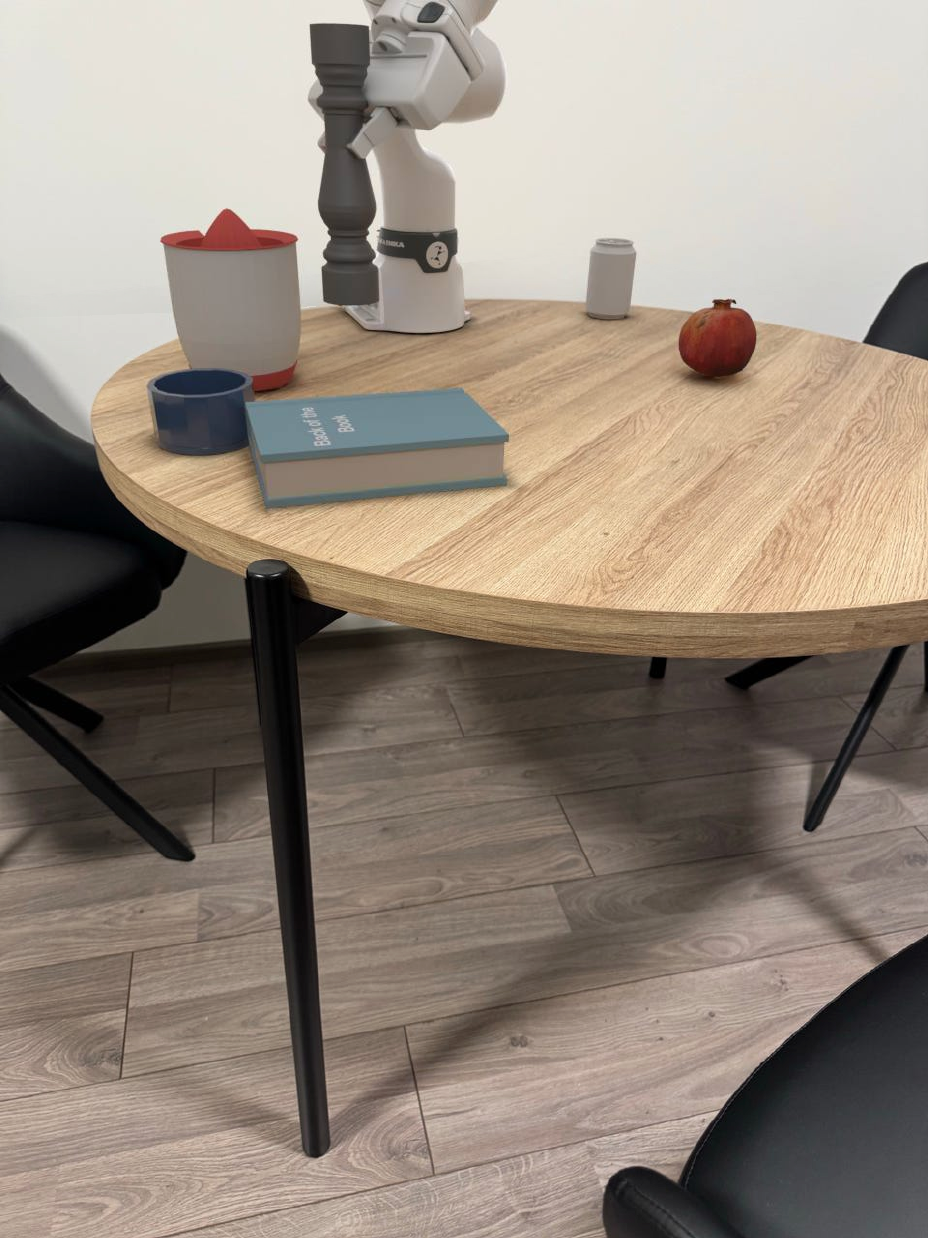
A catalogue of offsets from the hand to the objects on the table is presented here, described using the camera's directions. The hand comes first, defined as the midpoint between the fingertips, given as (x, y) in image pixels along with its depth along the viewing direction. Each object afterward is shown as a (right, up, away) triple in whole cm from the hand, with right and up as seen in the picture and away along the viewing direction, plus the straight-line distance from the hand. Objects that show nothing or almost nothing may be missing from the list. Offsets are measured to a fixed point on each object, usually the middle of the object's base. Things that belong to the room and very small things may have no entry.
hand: (339, 151), depth 88 cm
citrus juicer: (-15, -17, +23) cm, 32 cm away
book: (+3, -32, -1) cm, 32 cm away
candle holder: (0, -12, +8) cm, 15 cm away
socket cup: (-15, -28, +4) cm, 32 cm away
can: (+37, +4, +61) cm, 71 cm away
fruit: (+46, -15, +29) cm, 57 cm away
